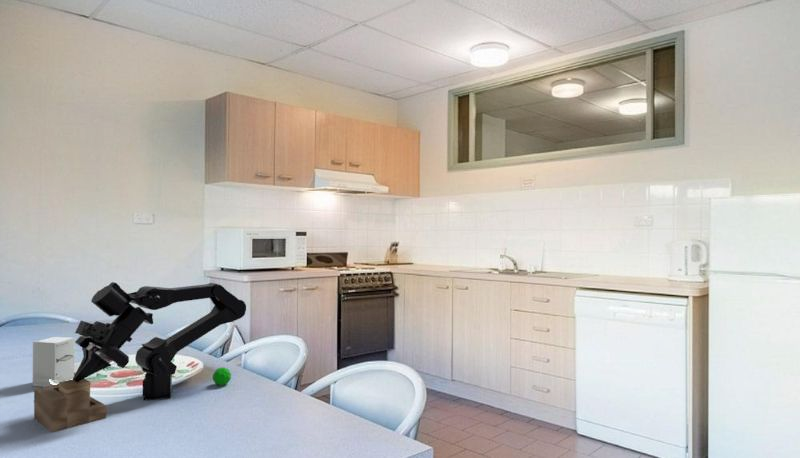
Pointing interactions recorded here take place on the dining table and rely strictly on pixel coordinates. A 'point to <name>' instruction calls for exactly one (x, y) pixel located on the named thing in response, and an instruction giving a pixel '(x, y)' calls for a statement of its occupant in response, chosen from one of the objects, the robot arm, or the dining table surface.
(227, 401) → the dining table surface
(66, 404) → the socket
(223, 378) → the polyhedron
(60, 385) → the peg
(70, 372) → the supplement box
